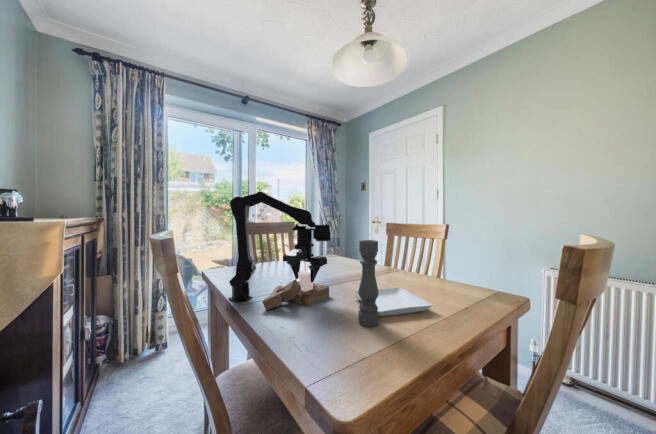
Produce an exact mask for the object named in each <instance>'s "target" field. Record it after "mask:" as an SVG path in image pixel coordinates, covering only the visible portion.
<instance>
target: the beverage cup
mask: <svg viewBox="0 0 656 434" xmlns="http://www.w3.org/2000/svg"><path fill="white" fill-rule="evenodd" d="M303 265H304V270H301V271H300V270H299V272H298V275H299V277H298V279H299V281H300V286H301V291H305V292H306V291H308V290H311V289H313V283H314V282H311V271H310V269H307V268H306V267H307V265H306V262H305V261H303Z"/></svg>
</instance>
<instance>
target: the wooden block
mask: <svg viewBox="0 0 656 434" xmlns="http://www.w3.org/2000/svg"><path fill="white" fill-rule="evenodd" d="M297 282H298V281H297V279H294V280H292V281H290V282H289V283H287V284H286V285H283V286H284V287H283V286H282V285H277V286H276V287H275V288H274V289H273V291H272V292H271V293H270V294H269V296H267V297H265V298H264V299H263V300H262V304H263V307H264V310H265V311H267V312H268V311H269V310H271V309H272V310H273V309H274V308H276V307H279V306H280V305H281V304H282V302H283V301H284V302H285V303H288V302H291V301H290V300H292V299H294V298H295V296H296V293H297V291H298V289H299V285H298V283H297ZM280 287H282V288H281V289H279V288H280ZM283 298H284V299H283Z"/></svg>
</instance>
